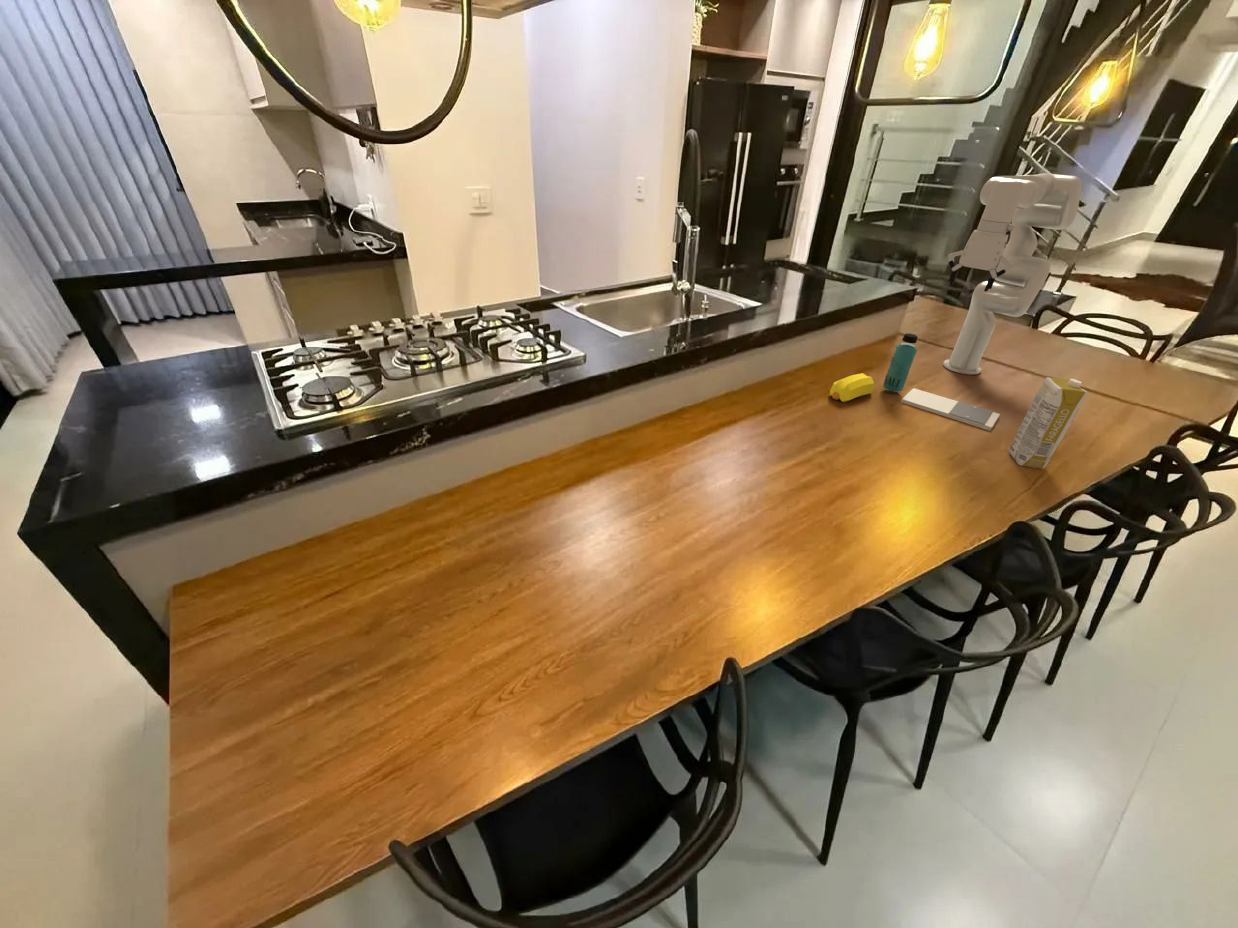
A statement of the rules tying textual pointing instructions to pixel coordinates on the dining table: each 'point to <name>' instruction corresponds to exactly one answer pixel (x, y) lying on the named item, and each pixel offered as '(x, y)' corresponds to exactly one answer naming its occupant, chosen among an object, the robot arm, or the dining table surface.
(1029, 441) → the juice carton
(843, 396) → the yellow faceted oblong part
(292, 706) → the dining table surface
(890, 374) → the beverage bottle
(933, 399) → the floor panel
